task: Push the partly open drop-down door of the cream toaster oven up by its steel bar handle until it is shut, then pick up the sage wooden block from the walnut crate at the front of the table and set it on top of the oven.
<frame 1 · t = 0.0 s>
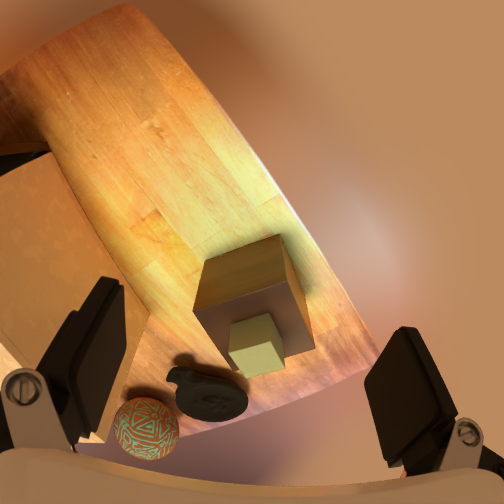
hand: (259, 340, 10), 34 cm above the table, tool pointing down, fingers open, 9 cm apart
block: (257, 332, 40), point 12 cm above the table, touching stand
oven: (29, 275, 51), on the table
stand: (256, 279, 50), on the table
oil lamp: (207, 380, 63), on the table
decorative sphere: (152, 402, 68), on the table
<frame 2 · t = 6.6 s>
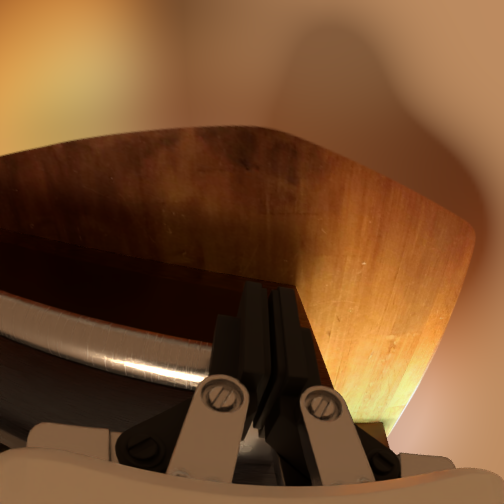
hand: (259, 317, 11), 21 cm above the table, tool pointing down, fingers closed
stand: (342, 438, 54), on the table
oven door: (65, 279, 21), point 12 cm above the table, hinge at 11.2°, touching gripper
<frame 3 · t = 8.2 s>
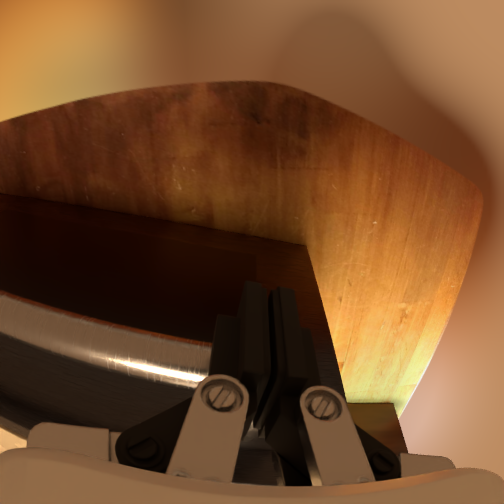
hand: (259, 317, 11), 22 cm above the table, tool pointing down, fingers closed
oven: (128, 331, 42), on the table
stand: (352, 420, 53), on the table
oven door: (69, 253, 21), point 13 cm above the table, hinge at -0.1°, touching gripper
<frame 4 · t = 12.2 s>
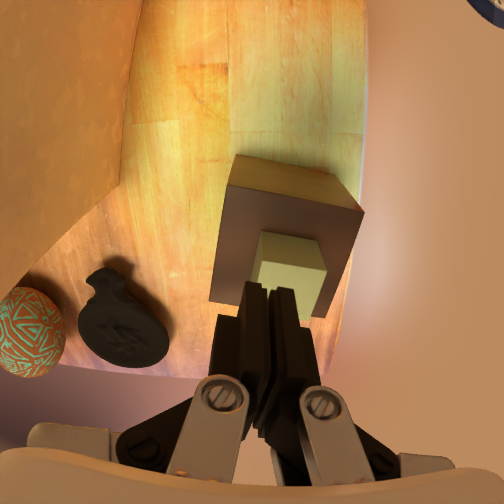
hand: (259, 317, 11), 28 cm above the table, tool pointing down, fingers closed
block: (282, 260, 29), point 12 cm above the table, touching stand
oven: (9, 66, 29), on the table
stand: (275, 210, 40), on the table
oil lamp: (127, 307, 48), on the table
decorative sphere: (44, 304, 48), on the table
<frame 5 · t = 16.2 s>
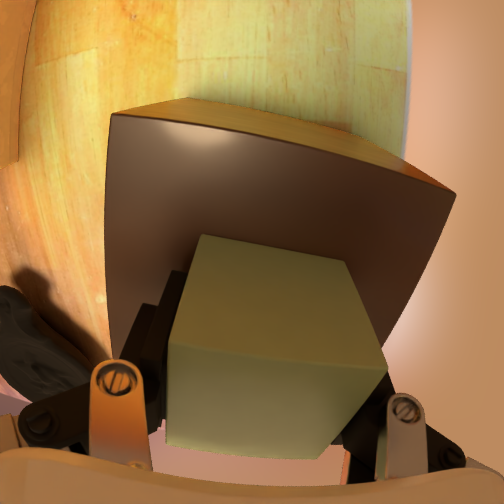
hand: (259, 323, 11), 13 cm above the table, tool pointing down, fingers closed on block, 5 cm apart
block: (259, 305, 12), point 12 cm above the table, touching gripper, stand
stand: (256, 197, 22), on the table
oil lamp: (52, 338, 30), on the table
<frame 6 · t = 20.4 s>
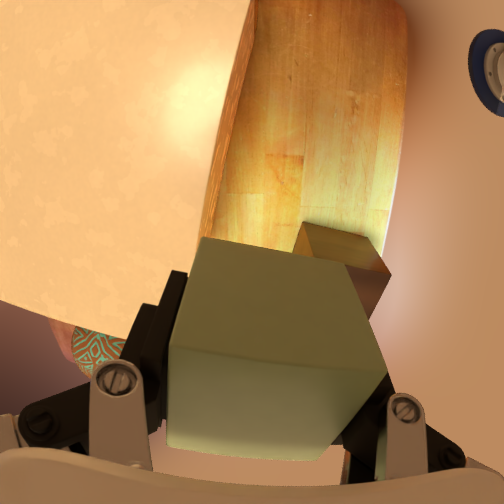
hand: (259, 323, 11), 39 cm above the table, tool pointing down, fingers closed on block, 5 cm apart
block: (259, 306, 12), point 38 cm above the table, touching gripper
oven: (105, 122, 44), on the table
stand: (324, 260, 55), on the table
decorative sphere: (119, 321, 63), on the table
when the fingers open (27 cm above the table, at t = 24.6 s): block stays where it is, resting on oven.
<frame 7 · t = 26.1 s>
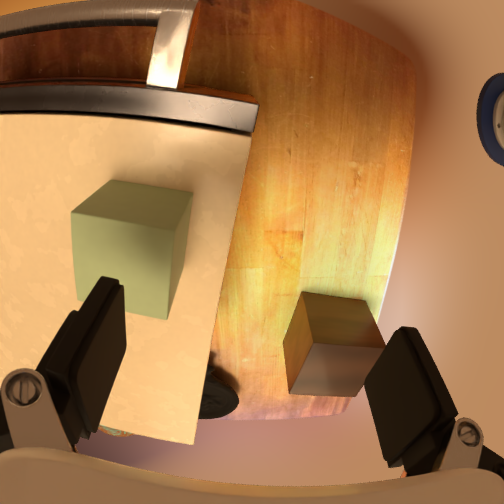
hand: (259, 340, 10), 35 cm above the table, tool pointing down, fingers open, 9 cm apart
block: (147, 225, 18), point 26 cm above the table, touching oven
oven: (97, 197, 44), on the table
stand: (323, 322, 56), on the table
oven door: (62, 59, 23), point 13 cm above the table, hinge at -0.1°
oil lamp: (204, 378, 64), on the table
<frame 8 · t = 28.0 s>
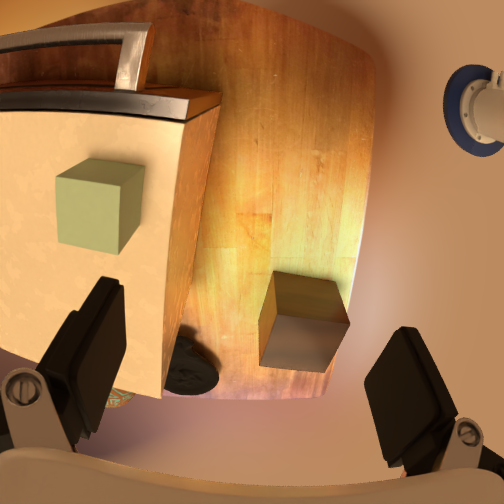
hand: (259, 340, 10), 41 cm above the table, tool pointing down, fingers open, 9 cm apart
block: (113, 191, 24), point 26 cm above the table, touching oven
oven: (91, 184, 50), on the table
stand: (295, 302, 61), on the table
oven door: (58, 66, 29), point 13 cm above the table, hinge at -0.1°
oil lamp: (187, 355, 69), on the table
decorative sphere: (116, 351, 69), on the table
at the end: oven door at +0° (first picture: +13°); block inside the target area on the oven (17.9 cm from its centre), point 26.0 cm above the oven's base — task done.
